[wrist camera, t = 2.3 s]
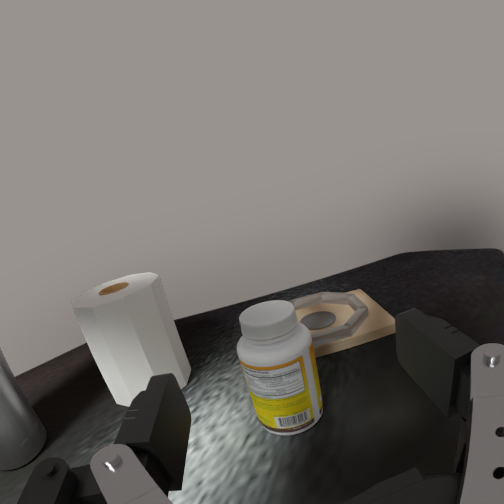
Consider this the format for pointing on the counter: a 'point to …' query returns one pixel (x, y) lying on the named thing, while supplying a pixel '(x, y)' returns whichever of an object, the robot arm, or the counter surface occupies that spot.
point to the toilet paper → (131, 334)
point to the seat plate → (342, 320)
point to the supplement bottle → (280, 368)
